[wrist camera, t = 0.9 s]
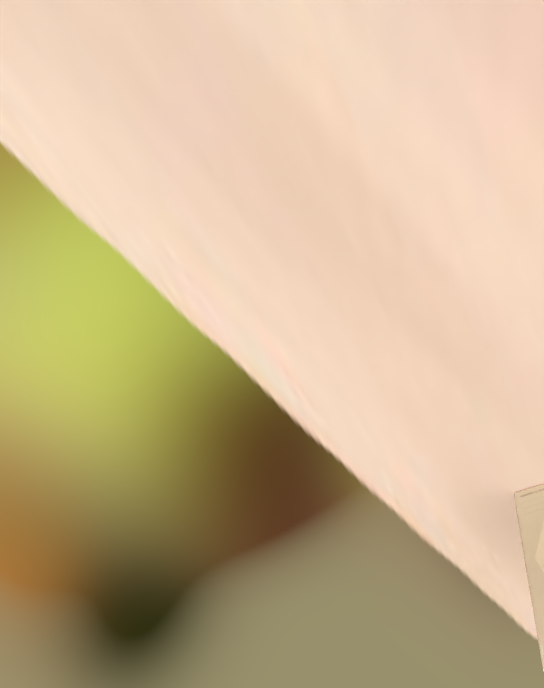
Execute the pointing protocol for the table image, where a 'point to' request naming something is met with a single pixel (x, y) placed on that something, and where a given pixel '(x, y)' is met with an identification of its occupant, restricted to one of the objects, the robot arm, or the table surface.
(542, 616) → the supplement box
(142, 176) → the table surface
